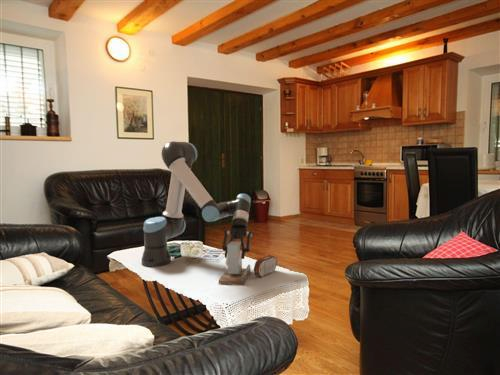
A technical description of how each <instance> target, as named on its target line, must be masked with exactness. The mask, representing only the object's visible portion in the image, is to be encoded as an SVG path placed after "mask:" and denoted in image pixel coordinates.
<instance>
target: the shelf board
mask: <svg viewBox="0 0 500 375" xmlns="http://www.w3.org/2000/svg"><path fill="white" fill-rule="evenodd" d="M246 268H247V267H246ZM246 268H244V267H242V270H241V271H240V273H239V274H228V268H227V269H226V270H225V271H224V273H223V274H222V275H221V277H220V278H218V284H219V283H221V284H220V285H233V284H235V285H236V286H244V284H245V283H246V281H247V279H248V277H249V275H250V274H251V269H250V270H249V272H248V274H247V275H246V277H245V279H244V281H243V282H241V276H242V275H243V273H244V271H245V270H246Z"/></svg>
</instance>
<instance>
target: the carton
mask: <svg viewBox="0 0 500 375" xmlns="http://www.w3.org/2000/svg"><path fill="white" fill-rule="evenodd" d="M228 243H229V242H228ZM228 243H227V246H226V247H227V253H228V266H227V269H228V274H239V273H240V271H241V270H242V268H243V261H242V262H241V266H239V264H238V262H239V256H240V250H242V246H241V241H234V242H230V243H229V244H228Z"/></svg>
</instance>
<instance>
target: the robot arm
mask: <svg viewBox="0 0 500 375" xmlns="http://www.w3.org/2000/svg"><path fill="white" fill-rule="evenodd" d="M197 158H198V150H197V148H196V147H195V145H194V144H193V143H190V142H187V141H176V140H175V141H173V140H172V141H169V142H167V143H165V145H163V147H162V149H161V160H162V161H163V163H164V164H165V167H167V169H168V170H169V171H171V175H170V181H169V182H170V183H169V188H168V195H167V201H166V206H165V207H166V208H165V210H164V211H163V212H162V214H161V216H155V217H150V218H148V219H146V220H145V221H144V222H143V229H142V230H143V243H144V245H143V246H144V250H143V252H142V253H143V254H142V256H141V265H142V266H144V267H161V266H166V265H169V264H170V263H171V262H172V257H171V254H170V251H169V248H168V240H170V239H172V238H176V237H178V236H180V235H182V234H183V233H184V232H185V229H186V227H187V226H186V225H187V224H186V221H185V218H184V214H183V212H182V210H183V204H184V198H185V193H186V192H185V191H187V192H188V194H189V195H190V196H191V198H192V199H193V200H194V201H195V203H196V204H197V206H199V208H200V210H201V211H202V212H201V216H202V218H203V220H204V221H205V222H207V223H208V222H209V223H211V222H216V221H218V220H221V219H223V218H226V217H227V218H228V217H229V216H230V217H231V216H232V223H231V227H230V230H224V232H223V233H224V236H223V242H222V246H221V249H222V251H223V252H224V253H225V254H224V258H225V264H226V266H227V267H228V253H227V245H228V244H229V243H230V242H236V240H237V239H238V240H240V242H241V247H242V250H240V256H239V262H238V264H239V266H241V262H242V263H243V260H244V259H245V256H246V253H249V252H250V248H251V241H252V240H251V239H252V237H253V232H252V231H250V230H249V231H248V223H249V217H250V209H251V202H252V200H251V199H252V198H251V197H250V195H248V194H247V193H239V194H238V195H236V199H232V200H229V201H223V202H218V203H216V201H215V200H214V199H213V197H212V196H211V195H210V194H209V192H208V191H207V190H206V188H205V187H204V186H203V184H202V183H201V181H200V180H199V179H198V178H197V177H196V175H195V174H194V172H193V171H192V170H191V169H192V167H193V164H194V163H195V162H196V160H197ZM230 235H231V236H230ZM229 236H230V239H229ZM245 236H247V237H246V238H247V239H246V246H245V240H244V238H245ZM228 239H229V240H228Z"/></svg>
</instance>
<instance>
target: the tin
mask: <svg viewBox="0 0 500 375" xmlns="http://www.w3.org/2000/svg"><path fill="white" fill-rule="evenodd" d="M277 261H278V260H277V257H276V256H273V255H271V254H268V255H266V256H263V257H260V258H258V259H257V260H256V262H255V263H254V266H253V272H254V275H255V276H257V277H260V278H262V277H265V276H267V275H270V274H273V272H275V270H276V268H277Z"/></svg>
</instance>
